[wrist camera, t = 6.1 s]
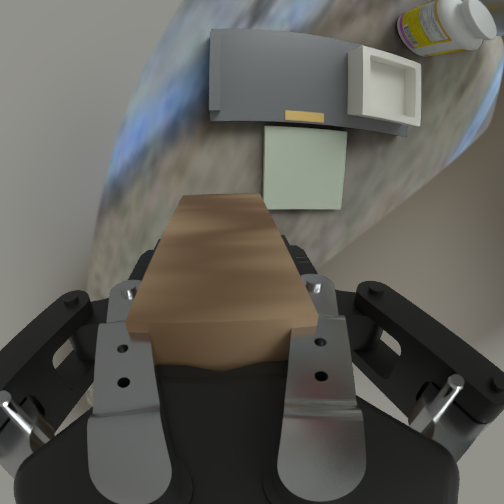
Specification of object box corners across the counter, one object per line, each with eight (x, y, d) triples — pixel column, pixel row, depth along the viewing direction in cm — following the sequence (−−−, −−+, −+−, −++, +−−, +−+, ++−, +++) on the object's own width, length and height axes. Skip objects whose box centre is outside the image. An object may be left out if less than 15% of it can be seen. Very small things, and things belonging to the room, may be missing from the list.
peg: (259, 193, 15) (318, 315, 6) (258, 261, 16) (296, 415, 7) (182, 195, 14) (124, 321, 5) (188, 263, 16) (163, 420, 7)
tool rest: (343, 131, 28) (347, 131, 27) (337, 206, 32) (340, 209, 31) (263, 125, 27) (265, 125, 26) (262, 206, 31) (263, 209, 30)
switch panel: (398, 60, 24) (417, 56, 21) (397, 135, 29) (416, 139, 25) (212, 34, 22) (210, 22, 19) (210, 121, 27) (209, 121, 23)
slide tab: (402, 67, 23) (420, 63, 20) (401, 124, 26) (420, 126, 23) (347, 52, 22) (362, 45, 19) (347, 114, 25) (362, 114, 22)
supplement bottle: (435, 31, 22) (502, 19, 10) (429, 66, 24) (501, 61, 13) (398, 4, 20) (462, -22, 9) (390, 39, 23) (461, 19, 12)
